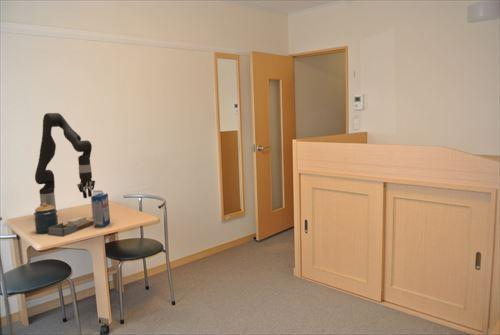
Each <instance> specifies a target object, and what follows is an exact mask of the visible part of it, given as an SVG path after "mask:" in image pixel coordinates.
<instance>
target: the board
mask: <svg viewBox="0 0 500 335" xmlns="http://www.w3.org/2000/svg"><path fill="white" fill-rule="evenodd" d="M63 225H64V228H66V227H69V226H68V223H66V224H63ZM91 226H94V220H87V219H86V222H84V223H81V224H78V225H77V230H78V231H81V230H83V229H87V228H89V227H91ZM78 231H77V232H78Z"/></svg>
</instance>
